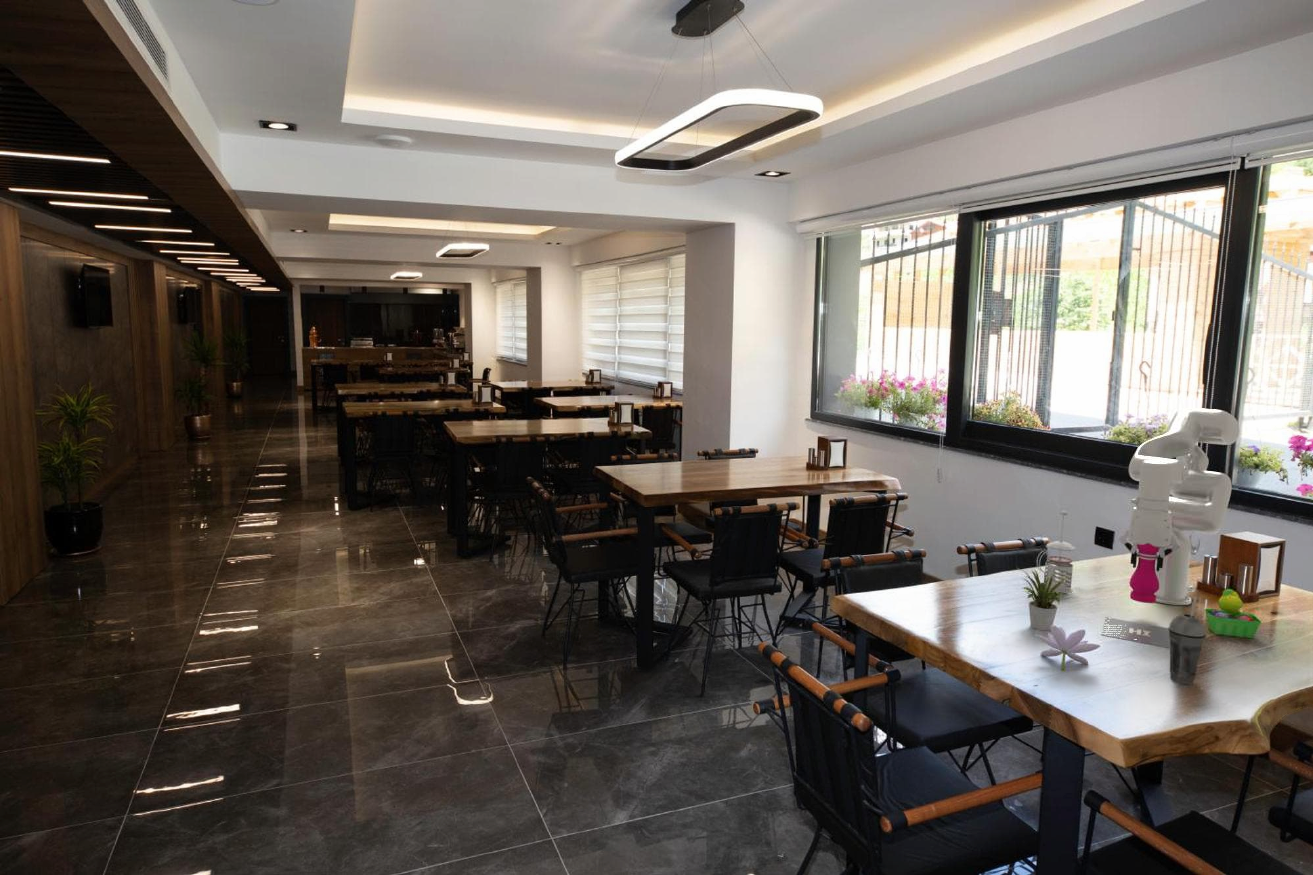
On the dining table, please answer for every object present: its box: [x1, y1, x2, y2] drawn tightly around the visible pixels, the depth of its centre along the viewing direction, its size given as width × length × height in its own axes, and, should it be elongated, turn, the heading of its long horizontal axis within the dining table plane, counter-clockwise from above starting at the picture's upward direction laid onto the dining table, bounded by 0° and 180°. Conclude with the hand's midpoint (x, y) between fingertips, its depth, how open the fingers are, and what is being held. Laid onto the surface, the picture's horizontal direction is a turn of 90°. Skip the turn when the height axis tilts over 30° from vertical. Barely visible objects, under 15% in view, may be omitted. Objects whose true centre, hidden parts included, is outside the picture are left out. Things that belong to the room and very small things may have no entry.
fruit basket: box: [1204, 588, 1262, 639], centre depth 219 cm, size 11×9×11 cm
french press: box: [1036, 510, 1076, 594], centre depth 253 cm, size 10×12×25 cm
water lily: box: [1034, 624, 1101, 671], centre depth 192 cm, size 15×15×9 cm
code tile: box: [1100, 616, 1170, 649], centre depth 217 cm, size 17×17×1 cm
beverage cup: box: [1168, 595, 1207, 685], centre depth 185 cm, size 7×7×20 cm
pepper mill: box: [1128, 543, 1159, 604], centre depth 227 cm, size 7×7×20 cm
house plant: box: [1016, 567, 1071, 631], centre depth 219 cm, size 14×14×16 cm
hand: (1146, 567), depth 227 cm, fingers closed on pepper mill, 5 cm apart
